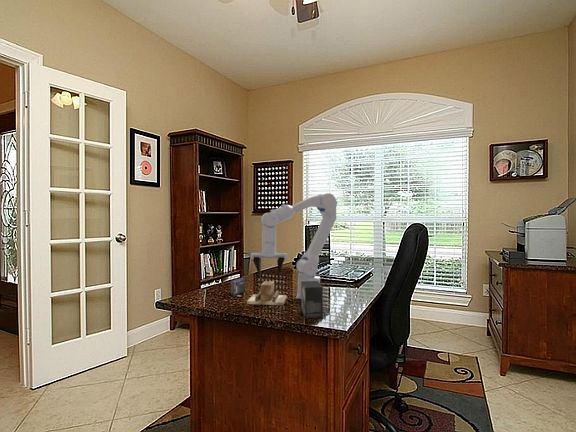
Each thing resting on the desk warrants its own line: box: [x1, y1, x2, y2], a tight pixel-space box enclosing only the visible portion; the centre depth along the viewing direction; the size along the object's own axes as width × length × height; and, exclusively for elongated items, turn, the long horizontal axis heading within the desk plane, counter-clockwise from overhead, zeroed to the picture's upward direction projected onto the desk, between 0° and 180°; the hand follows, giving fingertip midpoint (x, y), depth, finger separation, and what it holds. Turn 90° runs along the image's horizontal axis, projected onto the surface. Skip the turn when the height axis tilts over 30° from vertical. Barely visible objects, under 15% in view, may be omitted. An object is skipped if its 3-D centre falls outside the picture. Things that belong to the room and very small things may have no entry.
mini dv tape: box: [230, 277, 246, 296], centre depth 150 cm, size 8×2×6 cm, turn 152°
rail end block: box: [260, 280, 275, 301], centre depth 137 cm, size 4×8×6 cm, turn 174°
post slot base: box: [246, 290, 288, 306], centre depth 137 cm, size 14×12×3 cm
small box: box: [300, 281, 324, 319], centre depth 119 cm, size 11×6×10 cm, turn 5°
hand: (269, 276), depth 139 cm, fingers open, 7 cm apart
